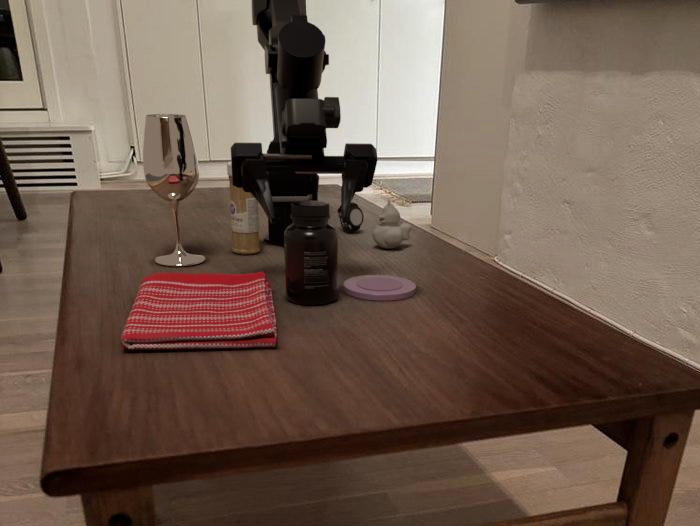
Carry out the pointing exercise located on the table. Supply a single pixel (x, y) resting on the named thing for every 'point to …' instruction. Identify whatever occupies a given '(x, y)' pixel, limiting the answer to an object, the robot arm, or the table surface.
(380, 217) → the rubber duck
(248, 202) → the sprinkles bottle
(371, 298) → the saucer
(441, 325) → the table surface
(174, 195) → the wineglass
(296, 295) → the supplement bottle
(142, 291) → the dish towel
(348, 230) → the smartwatch
